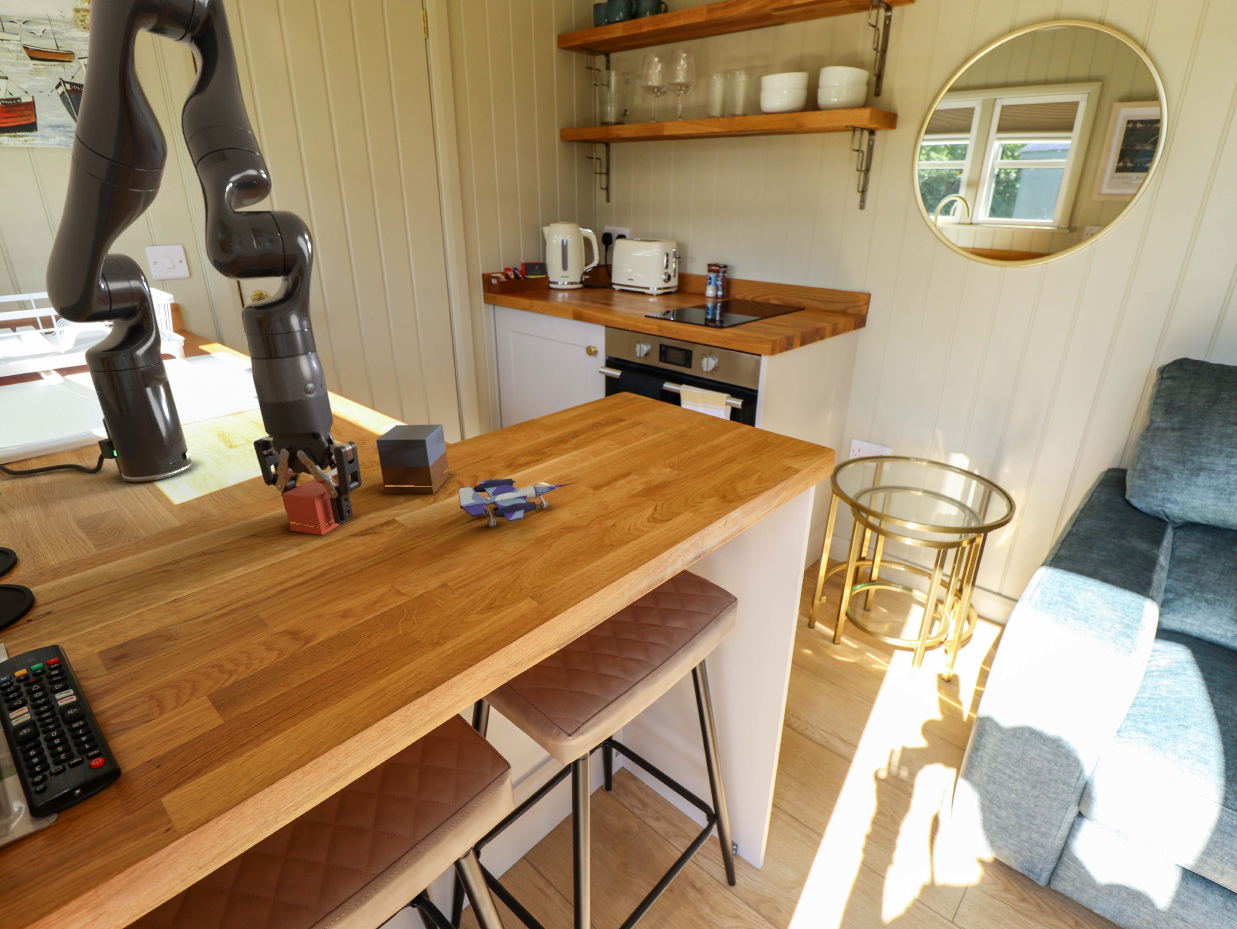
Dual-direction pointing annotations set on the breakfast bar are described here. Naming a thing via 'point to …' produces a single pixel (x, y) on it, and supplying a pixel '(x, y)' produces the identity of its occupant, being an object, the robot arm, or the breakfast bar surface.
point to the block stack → (413, 458)
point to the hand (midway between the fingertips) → (320, 518)
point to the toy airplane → (503, 499)
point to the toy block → (309, 508)
